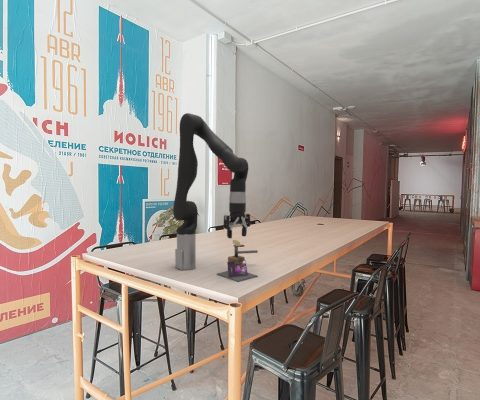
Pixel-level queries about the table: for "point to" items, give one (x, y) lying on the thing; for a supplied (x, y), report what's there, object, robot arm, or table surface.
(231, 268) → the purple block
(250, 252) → the t key
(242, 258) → the block
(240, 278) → the rubber mat
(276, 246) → the table surface
